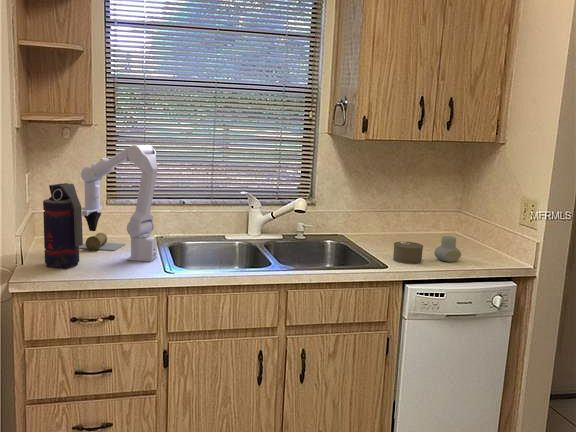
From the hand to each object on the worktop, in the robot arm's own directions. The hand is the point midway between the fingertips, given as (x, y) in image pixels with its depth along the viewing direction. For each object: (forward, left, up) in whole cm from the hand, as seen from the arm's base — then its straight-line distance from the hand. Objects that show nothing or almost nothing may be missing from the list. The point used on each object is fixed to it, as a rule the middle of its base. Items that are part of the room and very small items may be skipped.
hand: (92, 230), depth 243 cm
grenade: (+1, +23, -9) cm, 25 cm away
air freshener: (-144, -24, -9) cm, 146 cm away
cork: (0, 0, -5) cm, 5 cm away
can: (-127, -19, -9) cm, 129 cm away
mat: (0, -8, -8) cm, 12 cm away
